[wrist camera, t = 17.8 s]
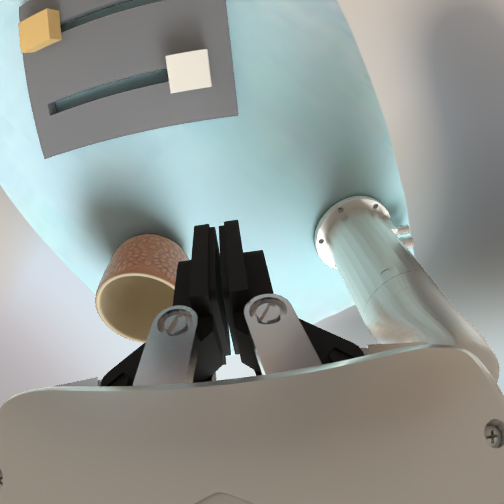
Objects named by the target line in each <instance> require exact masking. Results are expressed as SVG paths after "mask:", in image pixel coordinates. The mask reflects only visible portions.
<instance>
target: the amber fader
mask: <svg viewBox="0 0 504 504" xmlns="http://www.w3.org/2000/svg"><path fill="white" fill-rule="evenodd" d="M19 36H20V46H21V53H31V52H36V51H38V50H40V49H42V48H44V47H47V46H49V45H51V44H53V43H55V42H58V41H60V40H62V36H61V27H60V15H59V11H58V10H53V9H48V8H47V9H45V10H43V11H41V12H39V13H37V14H35V15H33V16H31V17H29V18H27V19H25V20H24V21H22V22H20V23H19Z"/></svg>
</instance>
